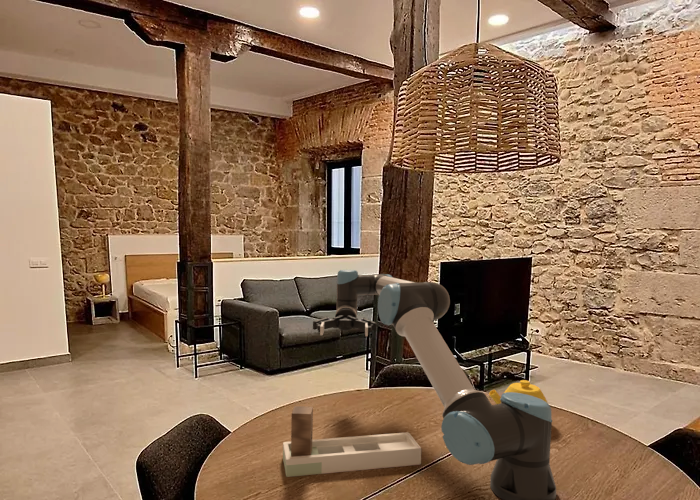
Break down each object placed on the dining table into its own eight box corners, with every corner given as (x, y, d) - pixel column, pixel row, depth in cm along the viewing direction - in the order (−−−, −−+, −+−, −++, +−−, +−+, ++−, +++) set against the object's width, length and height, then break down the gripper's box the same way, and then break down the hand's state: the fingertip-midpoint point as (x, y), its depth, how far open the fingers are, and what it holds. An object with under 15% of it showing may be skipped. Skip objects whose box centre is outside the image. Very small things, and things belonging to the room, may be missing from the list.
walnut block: (312, 450, 131) (312, 406, 130) (310, 459, 126) (310, 413, 125) (293, 449, 131) (294, 406, 130) (290, 458, 126) (291, 413, 125)
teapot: (498, 433, 151) (499, 389, 151) (478, 413, 167) (480, 374, 166) (558, 431, 154) (560, 388, 153) (534, 412, 169) (535, 373, 169)
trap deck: (408, 447, 140) (408, 432, 140) (420, 464, 131) (421, 448, 130) (282, 458, 133) (283, 442, 132) (286, 476, 123) (286, 459, 123)
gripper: (381, 329, 168) (385, 344, 146) (309, 327, 168) (302, 342, 147) (382, 307, 167) (385, 319, 146) (309, 306, 168) (302, 318, 146)
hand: (344, 331), depth 146 cm, fingers open, 13 cm apart
